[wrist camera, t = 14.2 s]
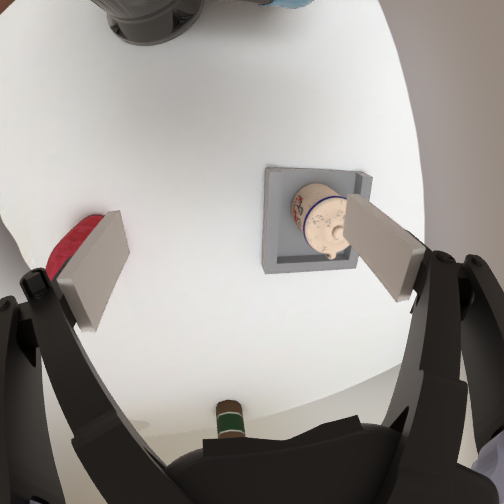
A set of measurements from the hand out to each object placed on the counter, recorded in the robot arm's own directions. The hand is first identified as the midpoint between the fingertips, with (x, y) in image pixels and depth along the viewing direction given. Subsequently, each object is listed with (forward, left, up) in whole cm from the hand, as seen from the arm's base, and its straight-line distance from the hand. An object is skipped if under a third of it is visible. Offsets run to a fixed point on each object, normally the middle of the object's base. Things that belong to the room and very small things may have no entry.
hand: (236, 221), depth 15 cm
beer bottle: (+71, -1, -30) cm, 77 cm away
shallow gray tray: (+12, +16, -30) cm, 36 cm away
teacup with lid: (+11, +16, -29) cm, 35 cm away
